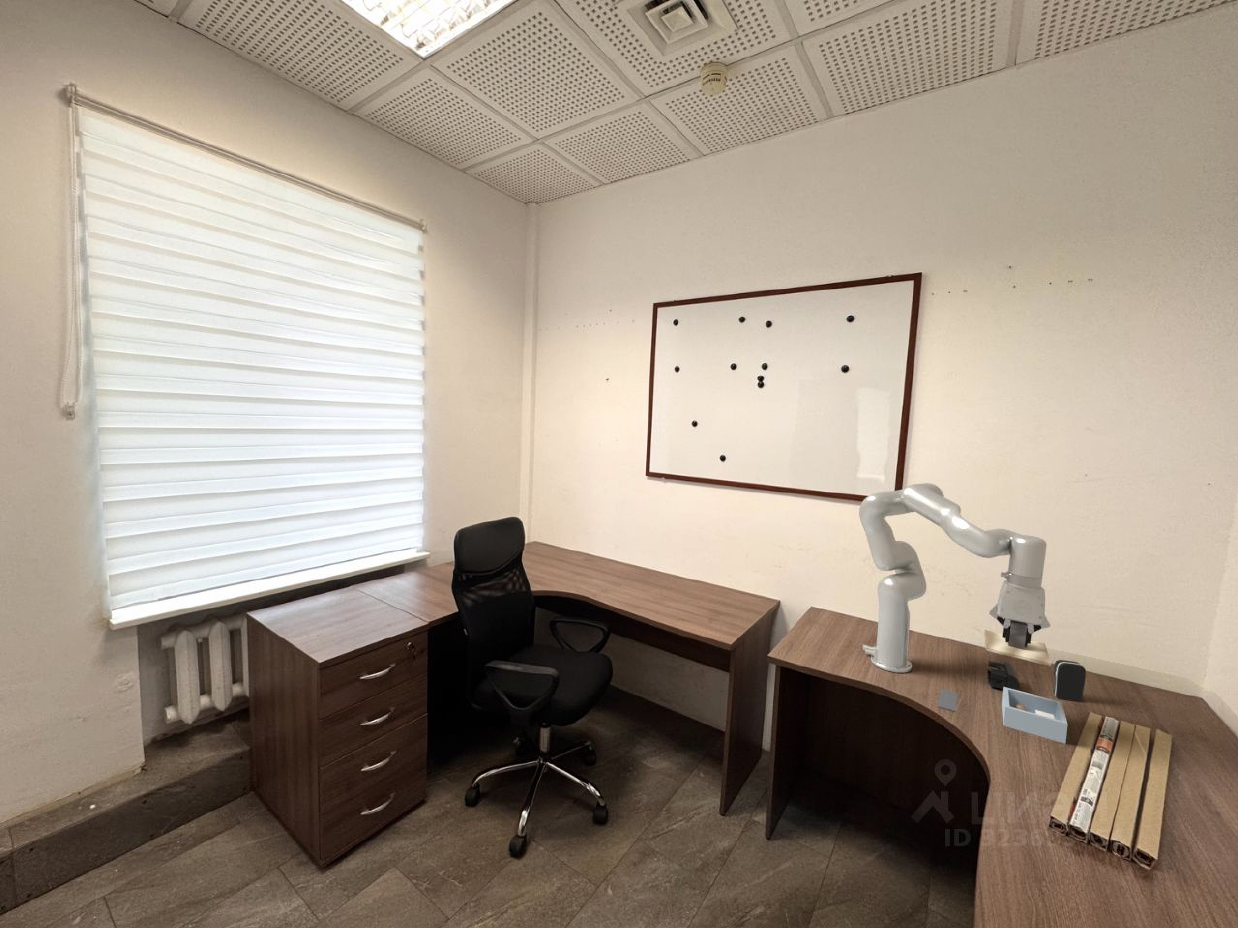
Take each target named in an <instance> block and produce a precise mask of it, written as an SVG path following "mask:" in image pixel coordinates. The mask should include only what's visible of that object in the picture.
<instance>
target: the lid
mask: <svg viewBox="0 0 1238 928" xmlns="http://www.w3.org/2000/svg"><path fill="white" fill-rule="evenodd" d="M1009 626H1010V636H1009V642H1008V643H1007V642H1005V638H1003V637H1002V635H1003V633H1000V632H997V631H991V630H986V629H984V631H983V632H984V633H983V634H984V646H985V647H984V648H985V651H988V652H992V653H994V654H996V655H997V654H998V655H1001V656H1007V657H1010V658H1016V659H1019V660H1025V661H1028V662H1029V663H1034V664H1038V665H1044V666H1048V667H1051V666H1052V662H1051V658H1050V655H1049V652H1048V648H1047V646H1046V644H1045V643H1044V642H1040V641H1036V640H1035V641H1034V640H1031V644H1029V643H1028V645H1027V647H1025V640H1026V632H1027V623H1024V622H1019V621H1014V620H1011V621H1010V624H1009Z"/></svg>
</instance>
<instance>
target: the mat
mask: <svg viewBox="0 0 1238 928" xmlns="http://www.w3.org/2000/svg"><path fill="white" fill-rule="evenodd" d="M937 701H938V702H937V708H940V709H943V710H946V711H950V712H953V713H956V712H957V703H958V692H954V691H952V690H947V689H944V688H941V687H940V689H939V695H938V700H937Z"/></svg>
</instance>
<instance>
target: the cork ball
mask: <svg viewBox="0 0 1238 928" xmlns="http://www.w3.org/2000/svg"><path fill="white" fill-rule="evenodd" d="M1014 708H1017V709H1020V710H1024V711H1027V709H1026V708H1025V707H1024V706H1022V705H1015V706H1014Z"/></svg>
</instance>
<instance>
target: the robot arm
mask: <svg viewBox="0 0 1238 928" xmlns="http://www.w3.org/2000/svg"><path fill="white" fill-rule="evenodd" d="M961 511H962V509H961V506H960V505H959V504H958V503H956V502H954V501H952V500H950V499H948V498H946V497H944V492H943V491H942V489H941V488H940V487H939V486H938V485H936V484H934V483H931V482H929V483H928V482H924V483H916V484H910V485H907V486H906V487H904V488H903V489H899V490H893V491H883V492H882V491H881V492H880V491H879V492H875V493H872V494H870V495H868V496H866V497H865V498H864V499H863V500H862V502H861V503H860V505H859V508H858V517H859V521H860V523H861V525H862V527H863V530H864V533H865V536H866V540H867V543H868V544H867V545H868V548H869V551H870V554H871V557H872V560H873V563H874V564H875V567H876V568H877V569H879V570H880V571H884V572H892V571H895V573H893V574H890V575H887V576H885V577H883V578H882V579H881V580H880V581H879V582H878V585H877V595H878V596H877V597H878V622H877V626H878V627H877V639H876V645H875V646H870V645H867V644H862V651H864V653H865V654H868V655H869V654H870V655H871V656H870V661H871V663H872V664H873V665H875V666H876V667H878V668H880V669H883V670H885V671H887V672H892V673H901V674H902V673H909V672H910V671H912V669H913V664H912V662H911V661H910V660H909V659H908V657H909V656H908V653H909V641H910V629H911V628H910V627H911V612H910V608H909V602H911V601H913V600H917V599H920V598H922V597H923V596H924V595H925V594H926V592H927V581H926V577H925V574H924V572H923V568H922V565H921V562H920V560H919V556H918V554H917V551H916V550H915V548H914V547H913V546H912V545H911V544H909V543H908V542H906V541H903V540H896V538H895V535H894V532H893V530H892V527H891V526H890V524H889V523H888V522H887V520H886V519H885V518H886V517H894V516H899V515H901V516H902V515H905V514H910V513H914V512H915V513H916V514H918V515H920V516H922V517H923V518H925V519H927V520H929V521H930V522H932V523H933V524H935V525H937V526H938V527H940V528H941V529H942V531H943V533H944V534H946V535H947V537H948V538H949V539H951V540H952V541H953V542H954V543H955V544H956V545H958V546H960V547H961V548H964V549H965V550H966V551H968V552H970V553H971V554H974V555H976V556H978V557H981V558H986V559H992V558H996V557H1001V556H1003V557H1004V556H1009V559H1008V568H1007V571H1005V572H1000V577H1001V578H1004V579H1005V580H1003V582H1002V585H1001V589H1000V591H999V595H998V599H997V604H996V605H995V606H993V608H991V609H990V610H989V615H990V616H992V617H993V618H994V619H996V620H997V621H998V622H999V624H1000V625H1001V626H1002V627H1003V629H1002V634H1003V635H1002V637H1003V638H1005V642H1007V643H1008V642H1009V636H1010V621H1011V620H1014V621H1019V622H1024V623H1027V632H1026V640H1025V647H1027V645H1028V643H1029V644H1031V641H1032V636H1033V634H1034V633H1036V632H1038V631H1040V630H1042V629H1043V630H1044V629H1049V628H1051V623H1050V621H1049V620H1048V618H1047V616H1046V615H1045V612H1046V592H1045V591H1046V590H1045V588H1044V587H1043V586H1042V583H1043V582H1042V581H1043V576H1044V575H1043V574H1044V566H1045V561H1046V553H1047V541H1045V540H1044V539H1043V538H1040V537H1038V536H1034V535H1029V534H1028V535H1027V534H1026V535H1025V534H1021V533H1017V532H1014V531H1011V530H1009V529H1006V528H995V529H987V530H983V529H982V528H980V527H978V526H976V525H975V524H972V523H971V522H969V521H968V520H966V519H965V518H964V517H963V515H962V513H961Z"/></svg>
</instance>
